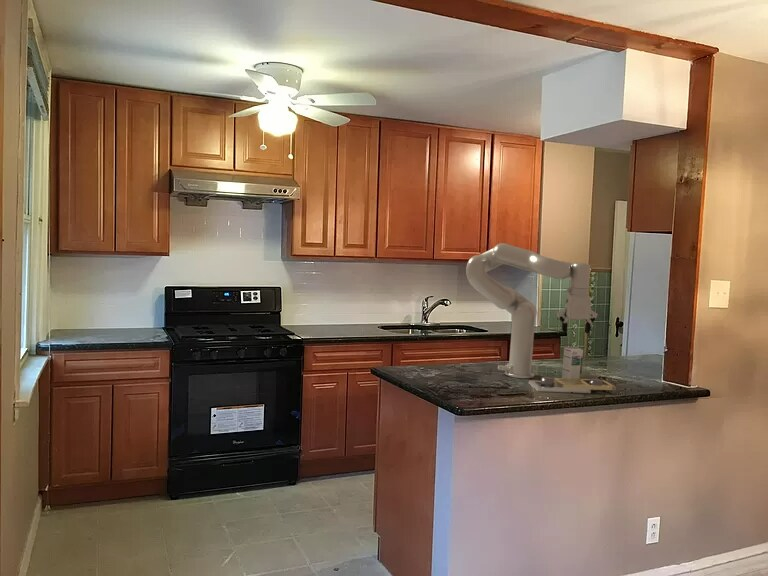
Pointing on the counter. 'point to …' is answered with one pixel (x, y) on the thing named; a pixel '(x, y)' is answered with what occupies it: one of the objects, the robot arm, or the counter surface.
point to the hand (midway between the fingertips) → (575, 332)
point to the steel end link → (549, 384)
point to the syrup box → (572, 363)
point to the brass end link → (585, 384)
